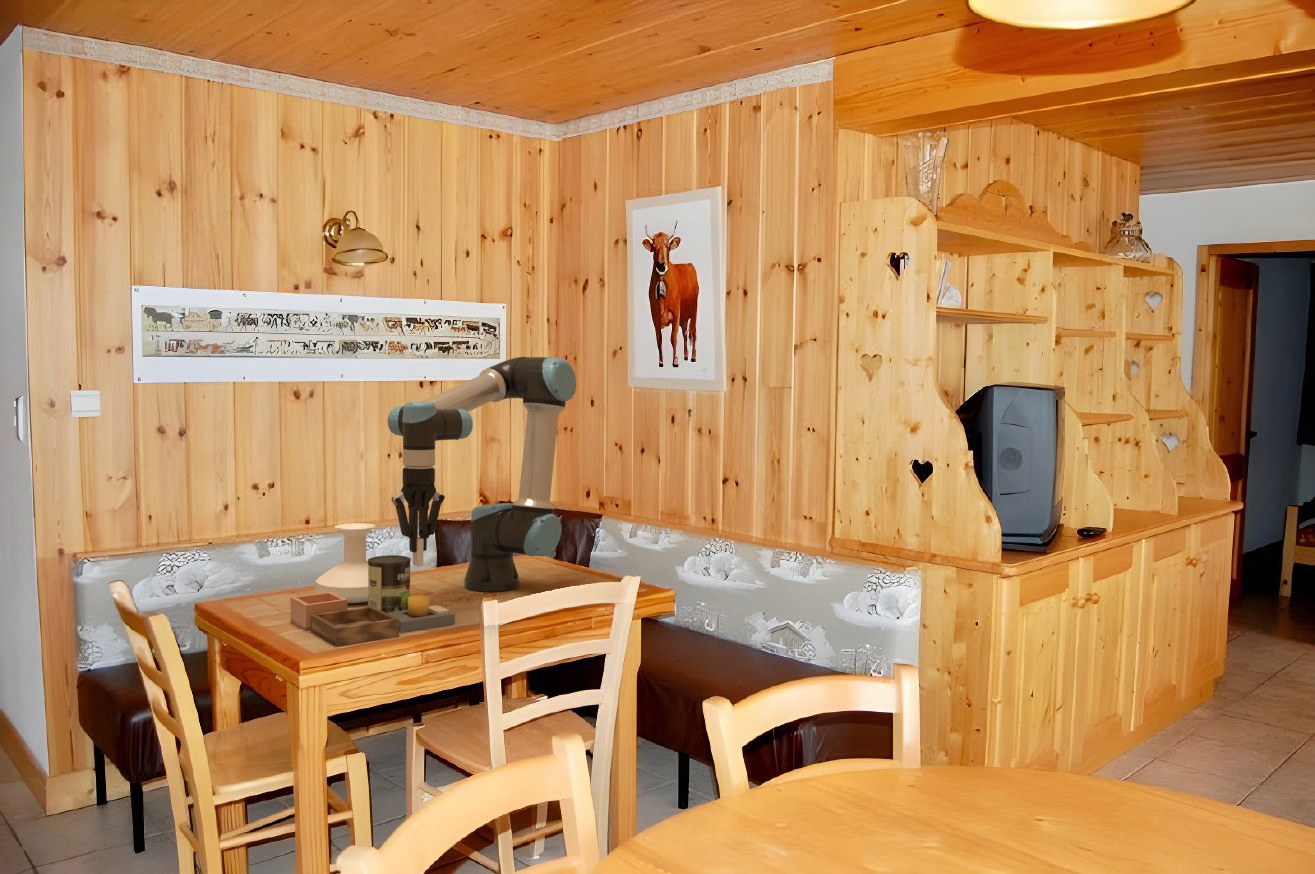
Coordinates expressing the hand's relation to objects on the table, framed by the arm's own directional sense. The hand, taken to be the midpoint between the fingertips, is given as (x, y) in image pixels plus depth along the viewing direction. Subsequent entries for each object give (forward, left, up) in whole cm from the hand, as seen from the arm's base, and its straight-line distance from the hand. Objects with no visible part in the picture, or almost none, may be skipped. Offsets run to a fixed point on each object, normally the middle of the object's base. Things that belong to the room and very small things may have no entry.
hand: (417, 564), depth 251 cm
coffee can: (+2, -12, -15) cm, 19 cm away
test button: (0, 0, -12) cm, 12 cm away
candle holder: (+2, -33, -15) cm, 36 cm away
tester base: (0, 0, -14) cm, 14 cm away
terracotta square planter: (+19, -14, -14) cm, 27 cm away
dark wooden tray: (+16, 0, -14) cm, 21 cm away
